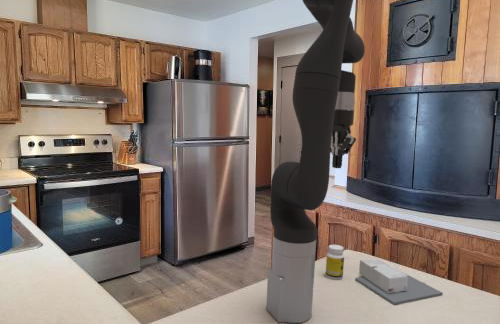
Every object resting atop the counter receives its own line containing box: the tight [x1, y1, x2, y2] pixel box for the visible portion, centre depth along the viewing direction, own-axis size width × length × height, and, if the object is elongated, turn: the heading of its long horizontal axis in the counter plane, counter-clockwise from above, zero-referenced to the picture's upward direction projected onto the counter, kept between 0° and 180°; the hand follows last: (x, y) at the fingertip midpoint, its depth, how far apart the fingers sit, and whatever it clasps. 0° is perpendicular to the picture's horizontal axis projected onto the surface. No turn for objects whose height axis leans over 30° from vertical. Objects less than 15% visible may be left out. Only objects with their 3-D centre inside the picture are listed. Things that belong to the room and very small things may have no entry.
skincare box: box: [358, 257, 409, 293], centre depth 96 cm, size 6×4×12 cm
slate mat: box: [354, 271, 443, 306], centre depth 94 cm, size 16×14×1 cm
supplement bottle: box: [325, 244, 345, 280], centre depth 99 cm, size 5×5×8 cm
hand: (336, 167), depth 107 cm, fingers closed
